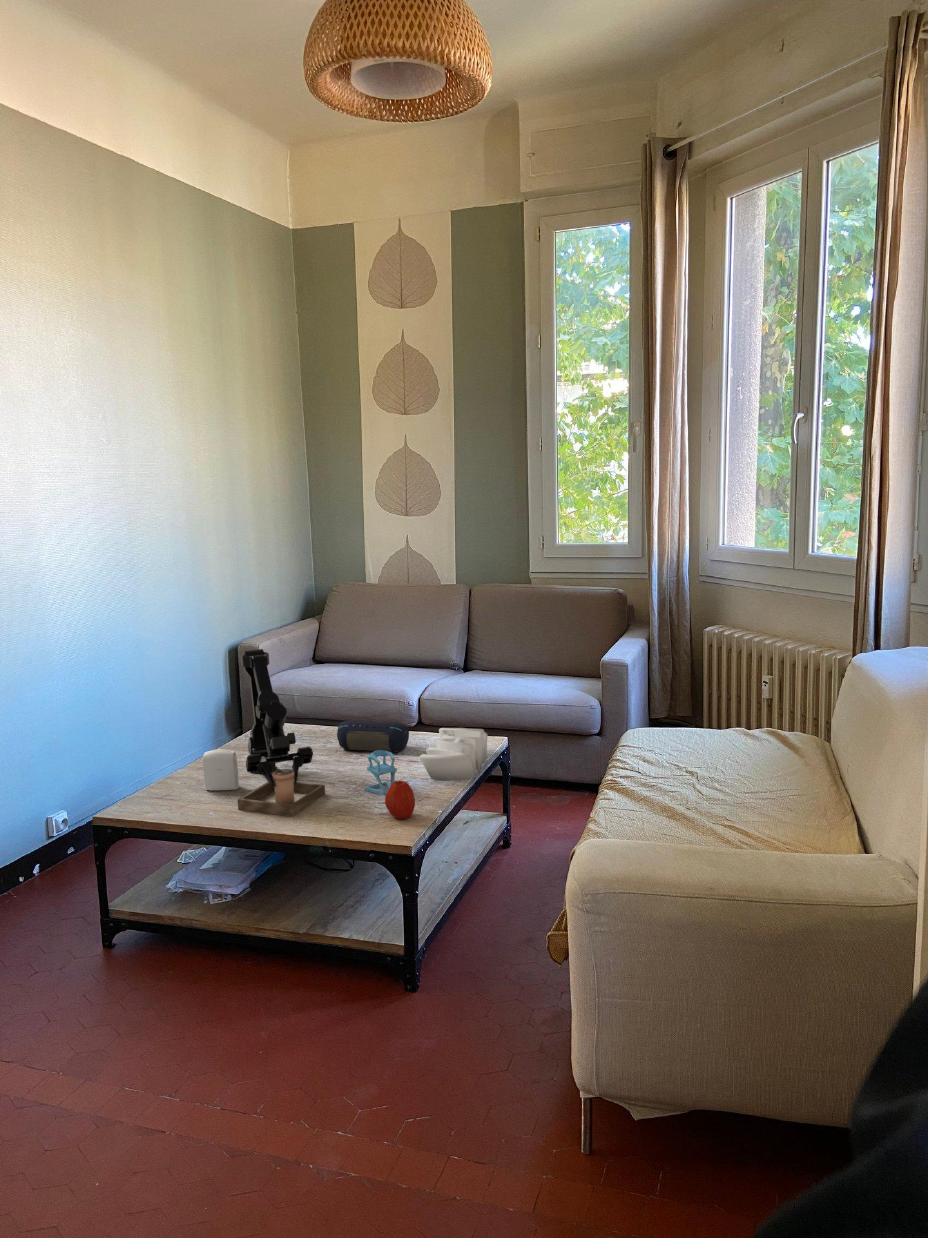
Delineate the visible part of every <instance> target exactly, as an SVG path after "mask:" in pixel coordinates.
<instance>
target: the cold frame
mask: <svg viewBox="0 0 928 1238" xmlns="http://www.w3.org/2000/svg"><path fill="white" fill-rule="evenodd" d="M273 780H274V779H273ZM293 782H294V780H293ZM325 786H326V785H325V784H322V783H321V784H320V783H313V782H312V783H311V782H303V781H297V784H295V783H294V793H298V794H305V795H303V796H302V797H301V798H299V799H298V800H295V802H294V803H293V804H291V805H289V804H281V803H276V802H272V801H264V800H260V799H261V797H262V798H263V797H265V796H266V795H268V794H270V793H271V792H273V791H275V787H274V788H273V787H272V786H271V785H270V783H269V782H268V781H267V782H264V783H263V784H262V785H260V786H258V787H257V788H255V789H253V790H251V791H249V792H248V793H246V794H244V795H242V796H241V797H239V798H237V809H238V811H239V810H240V811H248V812H255V813H262V814H263V813H264V814H269V815H270V814H271V815H278V816H286V817H294V816H296V815H297V814H299V813H300V812H302V811H304V810H305V809H306V808H308V807H309V806H311V805H312V804H314V803H315V802H316V801H318V800H320V799H321V798H322V797H324V796H325V795H326V787H325Z"/></svg>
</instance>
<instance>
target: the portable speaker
mask: <svg viewBox="0 0 928 1238" xmlns="http://www.w3.org/2000/svg"><path fill="white" fill-rule="evenodd" d="M336 735H337V736H336V738H337V741H338V744H339V746H340V748H342V749H344V750H349V751H351V750H352V751H372V752H374V751H377V750H382V751H388V752H391V753H392V752H393V753H394V752H395V753H396V752H401V751H403V750H405V748H406V747H407V745H408V743H409V737H410V729H409V727H408V726H407V725H405V724H404V723H402V722H401V723H400V722H395V721H370V720H345V721H342V722H340V723H339V724H338V726H337V732H336Z"/></svg>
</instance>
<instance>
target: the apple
mask: <svg viewBox="0 0 928 1238" xmlns="http://www.w3.org/2000/svg"><path fill="white" fill-rule="evenodd" d="M386 791H387V793H386V796H385V795H384V796H385V797H384V804H385V807H386V809H387V811H388V812H389V814H390V815H391V816H392V817H394V818H395V819H399V820H400V819H401V820H403V819H407V818H410V817H411V816H412V814H413V813H414V810H415V806H416V799H415V798H416V797H415V794H414V791H413V788H412V787H411V786H410V785H409V783H407V782H406V781H404V780H394V783H393V784H392V785H391V784H390V788H389V789H388V788H387V790H386Z"/></svg>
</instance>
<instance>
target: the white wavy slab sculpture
mask: <svg viewBox="0 0 928 1238" xmlns="http://www.w3.org/2000/svg"><path fill="white" fill-rule="evenodd" d="M438 732H439V733H438V734H439V738H436V739H434V742H435V743H434V744H435V745H436V747H429V746H428V747H427V748H426V749H425V753H426V754H425V753H422V754H420V756H419V760H420V762H421V763H422V765H423V767H424V768H425V770H426V772H427V775H429V777H430V779H431V780H432V779H435V781H444V780H445V781H447V782H448V781H451V782H452V781H453V782H454V781H466V780H472V779H475V777H476V775H478V771H481V768H483V764H485V763H486V761H487V759H488V733H487V732H485V729H483V728H465V727H441V728H439V729H438Z"/></svg>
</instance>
